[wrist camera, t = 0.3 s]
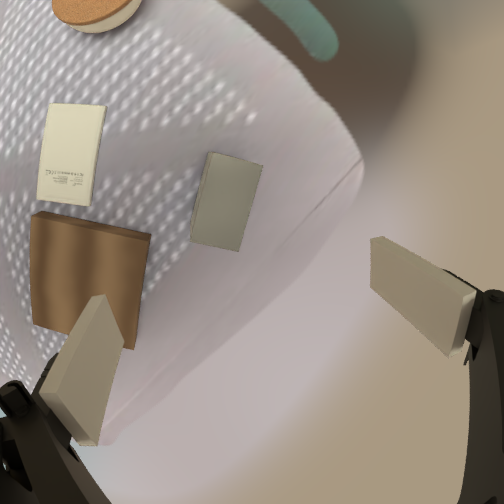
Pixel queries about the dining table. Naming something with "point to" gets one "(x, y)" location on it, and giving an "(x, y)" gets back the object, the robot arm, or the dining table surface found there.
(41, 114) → the dining table surface
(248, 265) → the dining table surface
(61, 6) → the lidded jar
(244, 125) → the dining table surface
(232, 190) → the block
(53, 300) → the walnut stand
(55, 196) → the external hard drive
